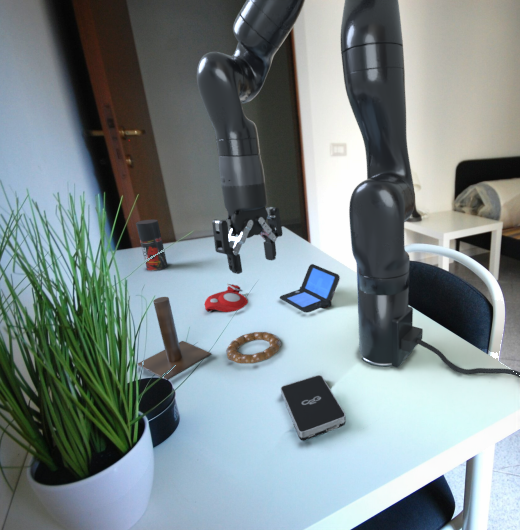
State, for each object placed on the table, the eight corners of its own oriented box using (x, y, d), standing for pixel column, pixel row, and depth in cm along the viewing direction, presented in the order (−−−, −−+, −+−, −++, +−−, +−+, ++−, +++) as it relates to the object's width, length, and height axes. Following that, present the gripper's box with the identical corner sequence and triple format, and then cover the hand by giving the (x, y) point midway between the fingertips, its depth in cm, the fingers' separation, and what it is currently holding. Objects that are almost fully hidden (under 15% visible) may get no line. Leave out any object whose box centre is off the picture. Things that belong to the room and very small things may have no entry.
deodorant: (171, 264, 121) (161, 219, 116) (160, 270, 116) (149, 224, 111) (154, 263, 122) (144, 219, 117) (142, 270, 116) (131, 224, 111)
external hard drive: (300, 445, 50) (299, 433, 50) (280, 396, 60) (279, 386, 59) (347, 427, 53) (346, 416, 52) (321, 383, 62) (320, 373, 62)
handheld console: (278, 300, 93) (274, 273, 91) (313, 288, 100) (311, 262, 98) (306, 317, 85) (303, 287, 82) (342, 302, 92) (341, 274, 89)
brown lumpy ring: (291, 346, 73) (290, 338, 73) (253, 373, 65) (251, 364, 65) (256, 334, 78) (254, 325, 78) (216, 357, 70) (214, 348, 70)
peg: (212, 358, 70) (200, 295, 66) (167, 385, 63) (150, 316, 58) (183, 345, 74) (170, 285, 70) (138, 369, 67) (120, 304, 63)
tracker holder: (254, 305, 89) (210, 307, 83) (251, 320, 90) (207, 323, 84) (241, 279, 97) (200, 278, 91) (238, 293, 99) (198, 293, 93)
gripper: (224, 187, 59) (238, 281, 64) (286, 177, 70) (294, 258, 76) (194, 185, 62) (211, 274, 68) (258, 176, 74) (267, 253, 79)
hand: (254, 265), depth 72 cm, fingers open, 8 cm apart
